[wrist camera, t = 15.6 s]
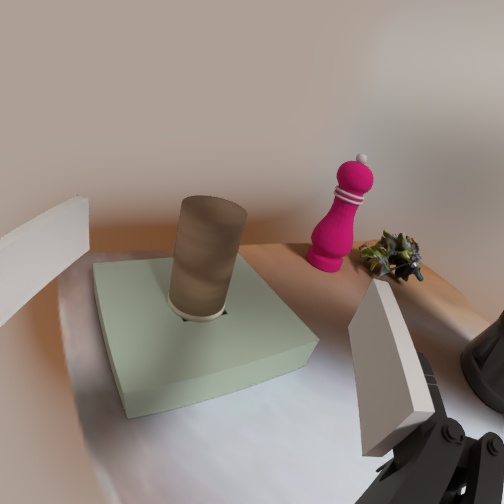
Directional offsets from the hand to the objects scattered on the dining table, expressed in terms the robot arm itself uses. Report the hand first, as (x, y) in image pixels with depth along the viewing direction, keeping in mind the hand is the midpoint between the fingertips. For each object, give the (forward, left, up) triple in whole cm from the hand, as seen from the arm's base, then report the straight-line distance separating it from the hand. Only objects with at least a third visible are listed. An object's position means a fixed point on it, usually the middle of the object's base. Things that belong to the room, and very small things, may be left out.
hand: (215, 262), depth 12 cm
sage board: (-5, -10, -15) cm, 19 cm away
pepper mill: (-33, -19, -15) cm, 41 cm away
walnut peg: (-5, -10, -15) cm, 18 cm away
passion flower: (-44, -12, -16) cm, 48 cm away
